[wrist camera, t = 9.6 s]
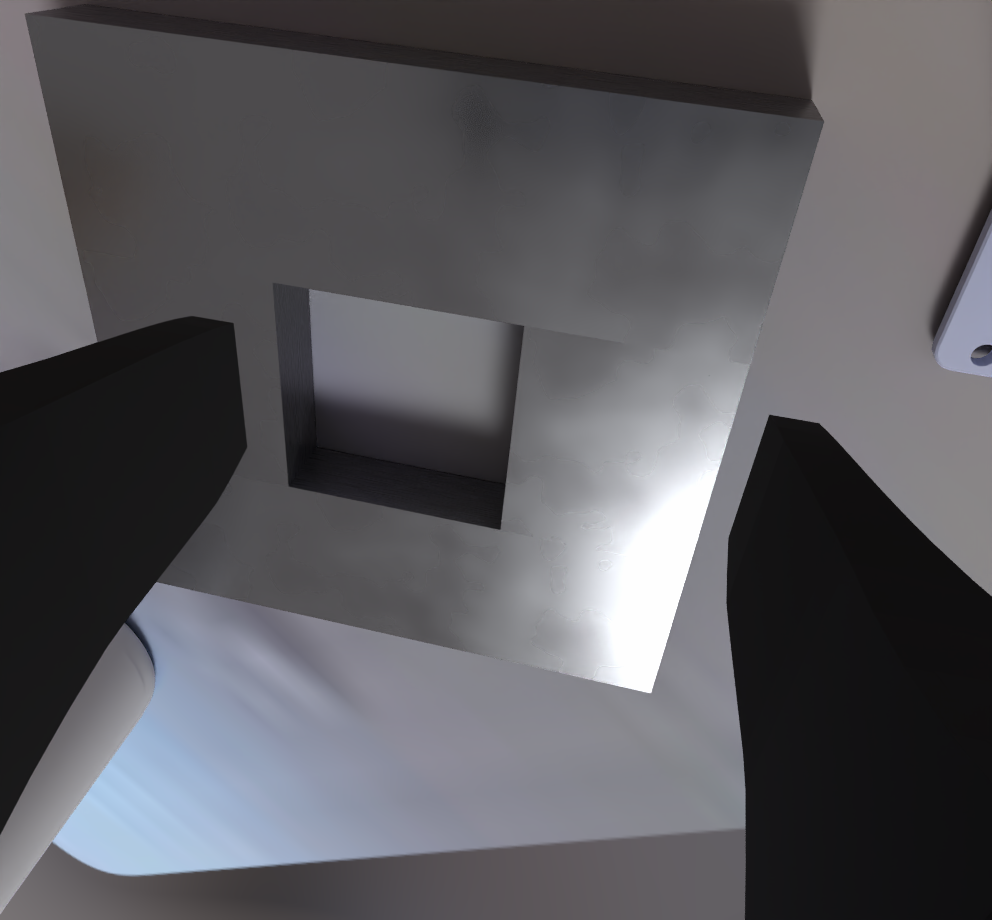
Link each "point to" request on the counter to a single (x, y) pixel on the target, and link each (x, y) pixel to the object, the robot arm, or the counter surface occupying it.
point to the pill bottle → (76, 755)
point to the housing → (439, 307)
